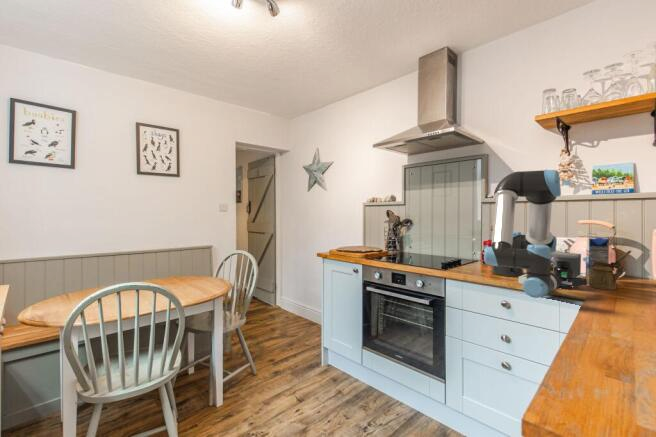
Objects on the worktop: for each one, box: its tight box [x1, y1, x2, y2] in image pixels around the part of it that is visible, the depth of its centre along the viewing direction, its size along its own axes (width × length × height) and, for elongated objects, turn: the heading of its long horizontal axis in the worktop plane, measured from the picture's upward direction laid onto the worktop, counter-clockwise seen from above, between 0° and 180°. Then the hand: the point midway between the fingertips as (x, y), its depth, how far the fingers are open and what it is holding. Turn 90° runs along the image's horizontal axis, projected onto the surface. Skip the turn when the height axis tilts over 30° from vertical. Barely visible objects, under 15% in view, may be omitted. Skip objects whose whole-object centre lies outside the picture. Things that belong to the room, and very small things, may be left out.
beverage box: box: [585, 236, 610, 285], centre depth 147 cm, size 7×11×22 cm, turn 145°
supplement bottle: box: [554, 261, 573, 290], centre depth 137 cm, size 7×7×12 cm
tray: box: [518, 273, 527, 285], centre depth 145 cm, size 11×11×3 cm
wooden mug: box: [588, 250, 632, 291], centre depth 136 cm, size 9×14×18 cm, turn 45°
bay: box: [551, 251, 582, 289], centre depth 137 cm, size 10×11×16 cm
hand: (561, 275), depth 134 cm, fingers open, 13 cm apart
